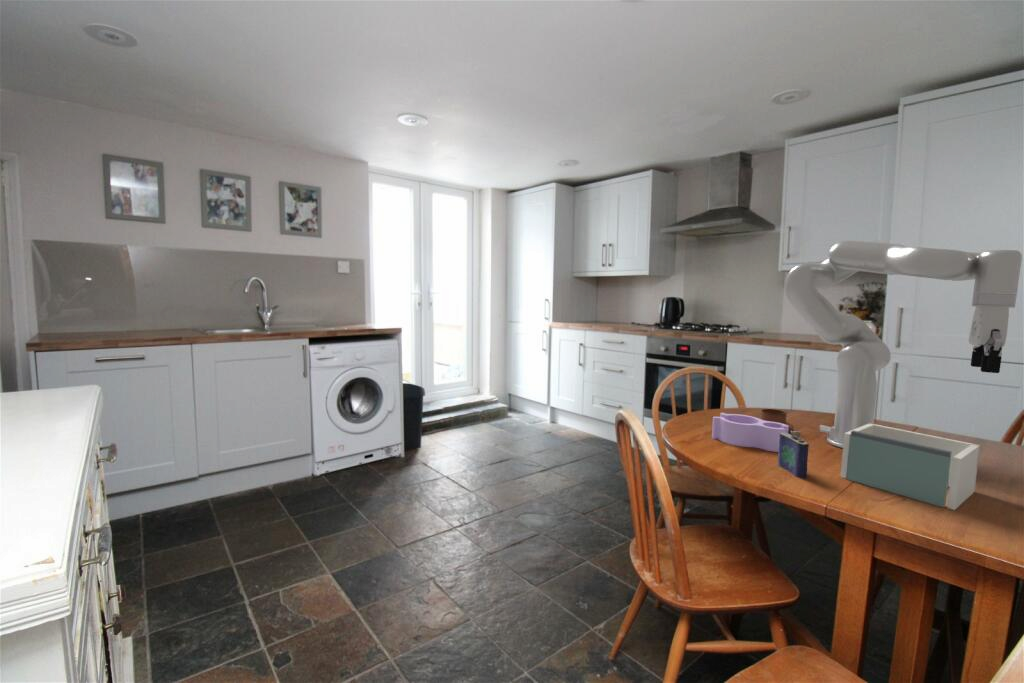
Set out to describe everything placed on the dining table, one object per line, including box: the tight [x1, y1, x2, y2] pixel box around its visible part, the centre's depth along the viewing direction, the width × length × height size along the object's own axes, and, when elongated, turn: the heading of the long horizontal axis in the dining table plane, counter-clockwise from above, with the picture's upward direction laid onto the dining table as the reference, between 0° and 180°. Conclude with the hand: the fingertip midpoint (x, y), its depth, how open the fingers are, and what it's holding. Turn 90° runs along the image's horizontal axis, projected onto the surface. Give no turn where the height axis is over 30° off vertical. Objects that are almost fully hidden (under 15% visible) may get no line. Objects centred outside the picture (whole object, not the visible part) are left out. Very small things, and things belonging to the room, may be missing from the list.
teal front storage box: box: [839, 423, 981, 511], centre depth 111 cm, size 16×21×12 cm
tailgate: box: [846, 431, 952, 508], centre depth 106 cm, size 1×18×12 cm, turn 35°
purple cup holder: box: [711, 412, 789, 453], centre depth 144 cm, size 20×12×7 cm, turn 47°
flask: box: [776, 430, 810, 480], centre depth 118 cm, size 10×3×12 cm, turn 1°
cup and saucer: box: [760, 408, 795, 432], centre depth 158 cm, size 12×12×6 cm
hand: (984, 369), depth 117 cm, fingers open, 9 cm apart
